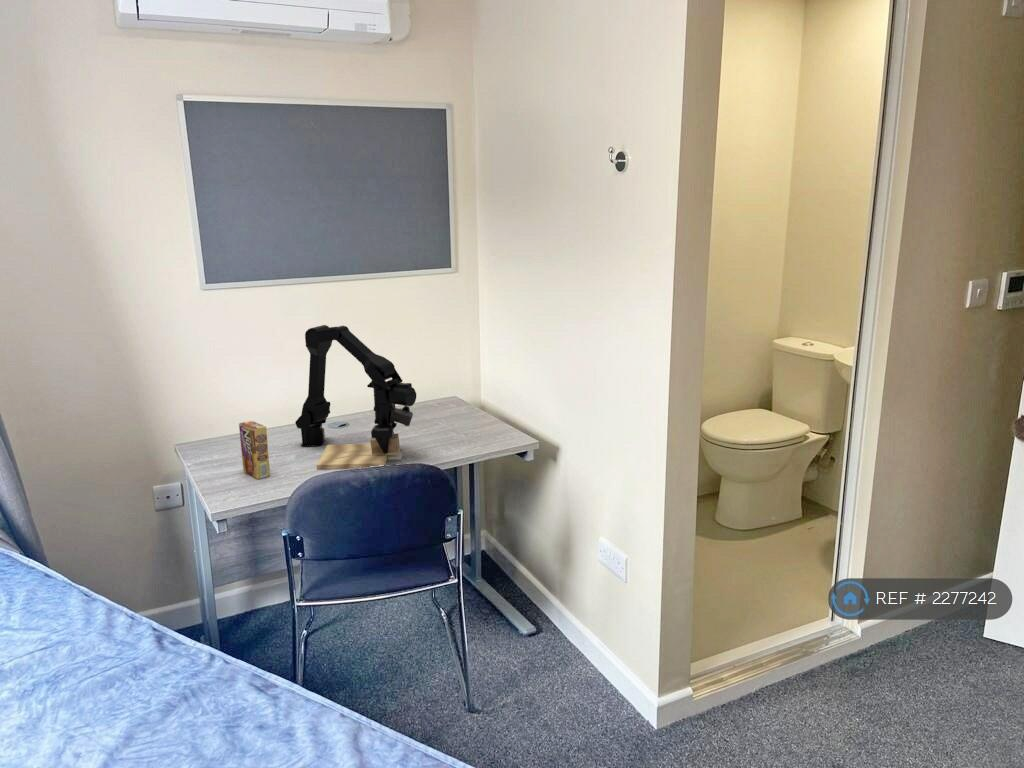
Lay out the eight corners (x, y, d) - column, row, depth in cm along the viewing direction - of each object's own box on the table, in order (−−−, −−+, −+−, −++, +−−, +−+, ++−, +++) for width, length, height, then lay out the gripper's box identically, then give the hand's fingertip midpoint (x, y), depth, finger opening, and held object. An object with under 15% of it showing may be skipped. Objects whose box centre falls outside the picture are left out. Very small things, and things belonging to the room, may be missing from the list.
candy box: (271, 475, 219) (266, 426, 215) (258, 479, 216) (252, 429, 212) (256, 468, 225) (251, 419, 221) (243, 472, 222) (237, 423, 218)
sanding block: (372, 456, 230) (370, 440, 228) (374, 450, 234) (372, 435, 233) (398, 454, 230) (396, 438, 229) (399, 448, 235) (398, 433, 233)
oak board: (316, 469, 223) (316, 464, 223) (328, 449, 240) (327, 444, 240) (384, 467, 224) (384, 463, 224) (390, 447, 241) (390, 443, 241)
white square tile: (387, 461, 231) (387, 457, 231) (389, 456, 235) (389, 452, 234) (400, 460, 231) (400, 457, 231) (402, 456, 235) (401, 452, 235)
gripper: (407, 410, 219) (410, 460, 223) (412, 393, 237) (415, 439, 241) (369, 411, 219) (372, 461, 223) (377, 394, 237) (380, 440, 241)
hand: (386, 450), depth 232 cm, fingers closed on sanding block, 5 cm apart
